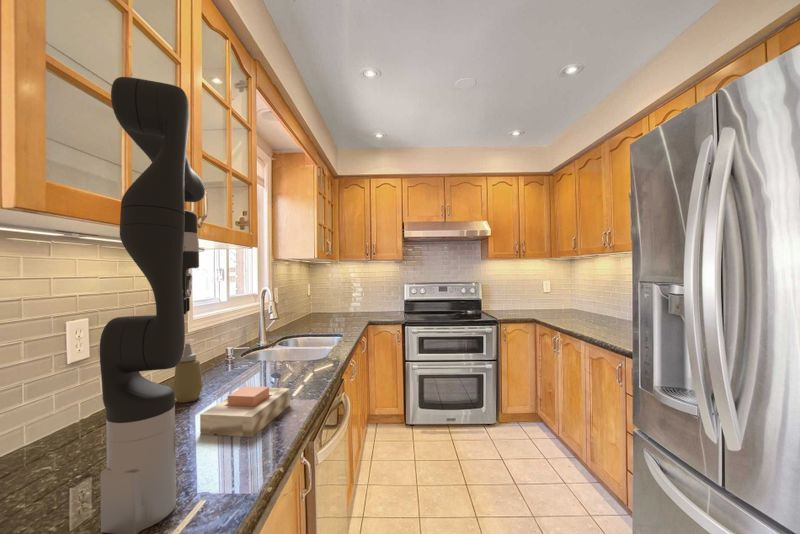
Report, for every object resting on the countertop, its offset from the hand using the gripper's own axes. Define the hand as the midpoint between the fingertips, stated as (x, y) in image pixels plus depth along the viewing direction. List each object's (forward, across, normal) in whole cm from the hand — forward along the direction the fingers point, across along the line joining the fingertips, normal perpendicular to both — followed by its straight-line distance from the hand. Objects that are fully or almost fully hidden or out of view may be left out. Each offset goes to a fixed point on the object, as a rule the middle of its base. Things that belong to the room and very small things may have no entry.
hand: (183, 312), depth 90 cm
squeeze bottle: (+30, +23, +1) cm, 38 cm away
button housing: (+30, -2, -15) cm, 34 cm away
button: (+27, -2, -15) cm, 31 cm away
